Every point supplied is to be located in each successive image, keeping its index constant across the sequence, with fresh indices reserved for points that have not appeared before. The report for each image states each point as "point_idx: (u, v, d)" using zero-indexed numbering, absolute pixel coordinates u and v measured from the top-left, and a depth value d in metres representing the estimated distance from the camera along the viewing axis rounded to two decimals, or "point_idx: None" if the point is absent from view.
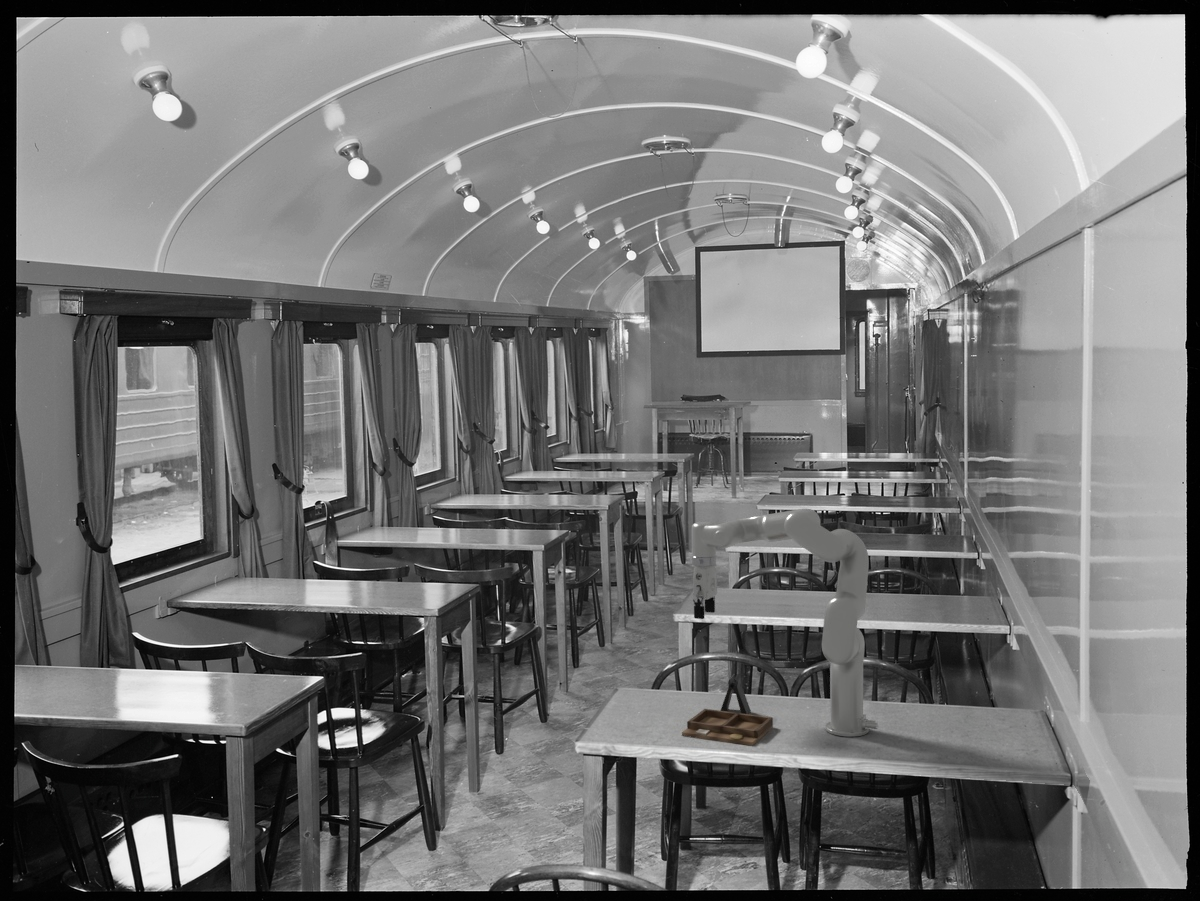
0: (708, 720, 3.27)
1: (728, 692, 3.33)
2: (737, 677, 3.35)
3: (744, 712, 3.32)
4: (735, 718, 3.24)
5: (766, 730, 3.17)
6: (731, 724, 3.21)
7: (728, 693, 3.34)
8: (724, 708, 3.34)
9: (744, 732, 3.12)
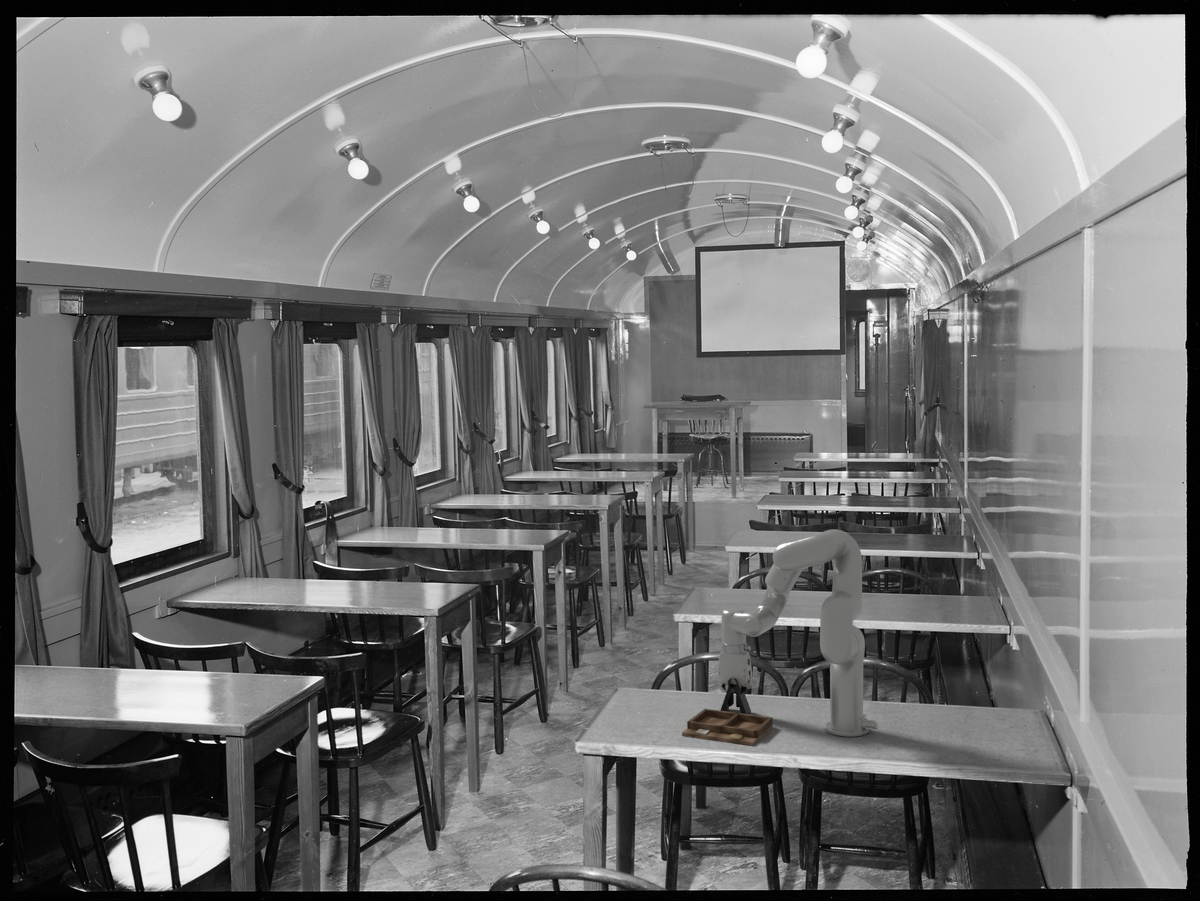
0: (708, 720, 3.27)
1: (728, 692, 3.34)
2: None
3: (744, 712, 3.32)
4: (735, 718, 3.24)
5: (766, 730, 3.17)
6: (731, 724, 3.21)
7: (728, 693, 3.34)
8: (724, 708, 3.34)
9: (744, 732, 3.12)
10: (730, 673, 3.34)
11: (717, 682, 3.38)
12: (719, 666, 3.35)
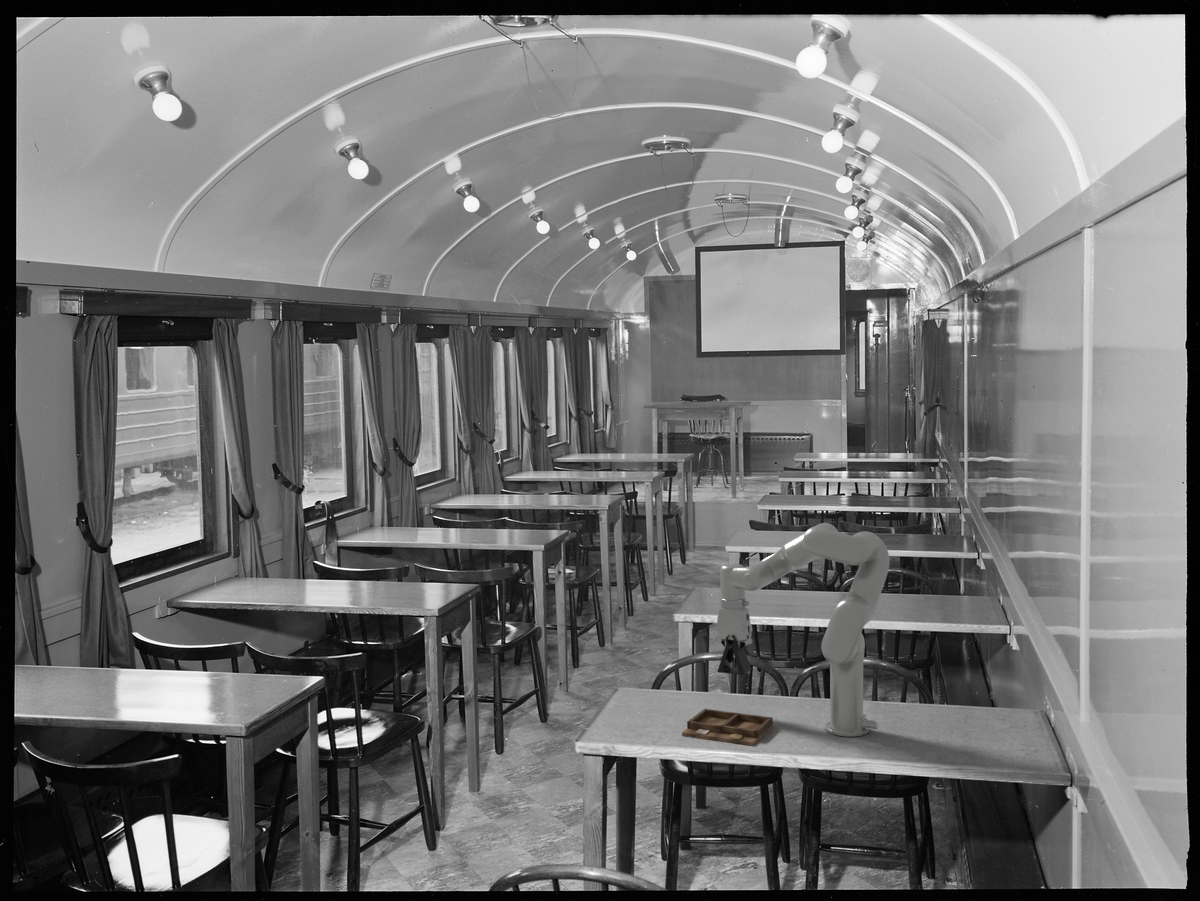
0: (708, 720, 3.27)
1: (726, 649, 3.32)
2: None
3: (741, 669, 3.30)
4: (735, 718, 3.24)
5: (766, 730, 3.17)
6: (731, 724, 3.21)
7: (726, 650, 3.32)
8: (722, 665, 3.33)
9: (744, 732, 3.12)
10: (729, 629, 3.31)
11: (717, 639, 3.36)
12: (718, 622, 3.33)
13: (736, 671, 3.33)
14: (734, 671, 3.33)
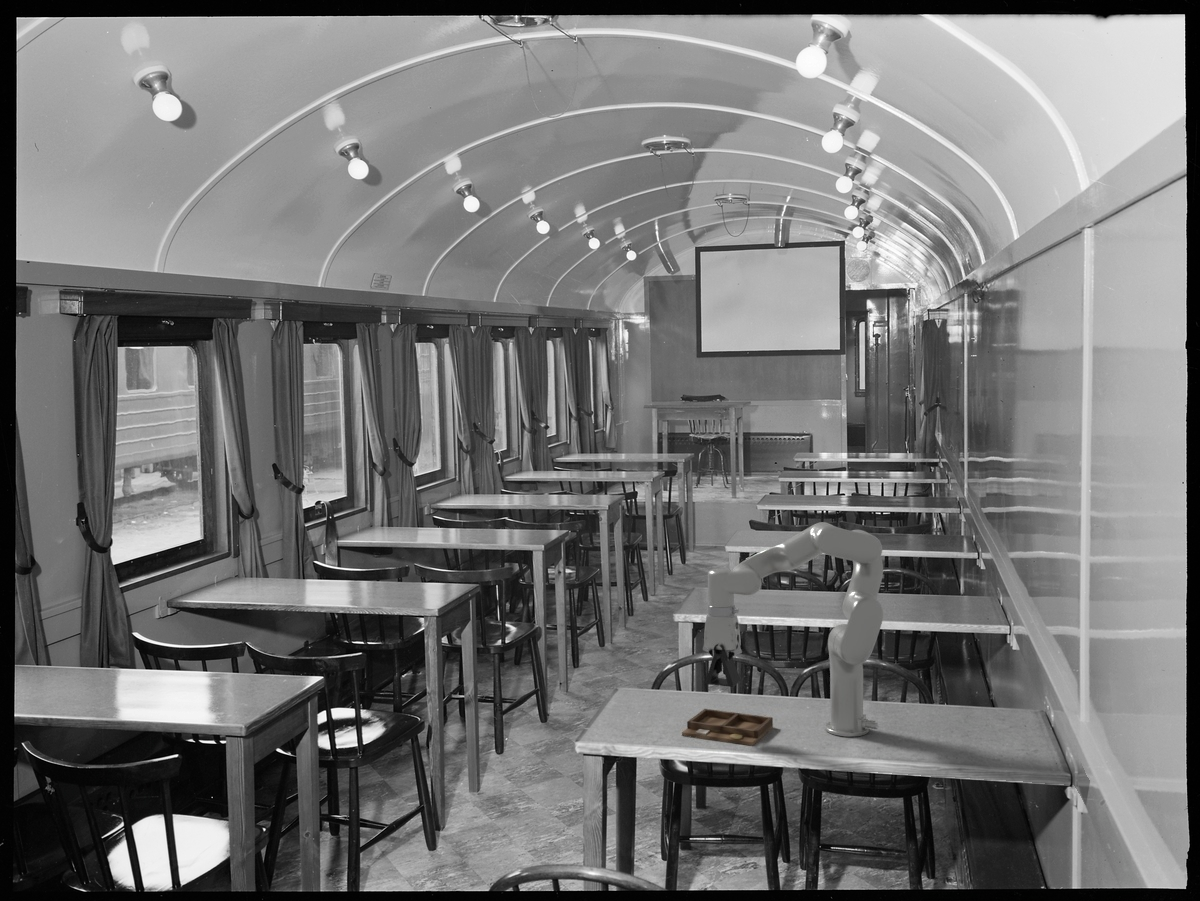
0: (708, 720, 3.27)
1: (714, 659, 3.12)
2: None
3: (730, 681, 3.11)
4: (735, 718, 3.24)
5: (766, 730, 3.17)
6: (731, 724, 3.21)
7: (714, 660, 3.13)
8: (710, 676, 3.13)
9: (744, 732, 3.12)
10: (717, 638, 3.12)
11: (704, 648, 3.16)
12: (705, 630, 3.14)
13: (724, 683, 3.13)
14: (722, 683, 3.13)
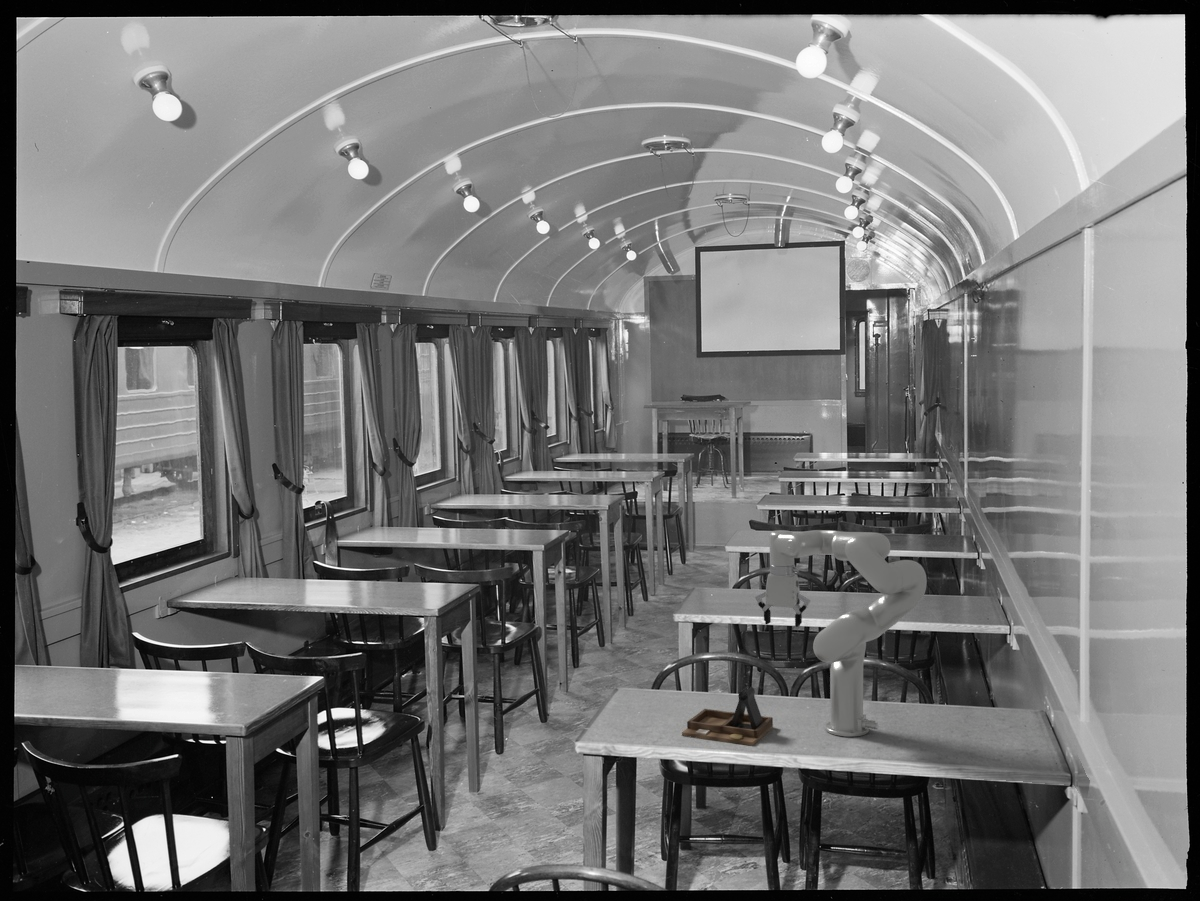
0: (708, 720, 3.27)
1: (738, 705, 3.16)
2: (749, 690, 3.18)
3: (755, 727, 3.14)
4: None
5: (766, 730, 3.17)
6: None
7: (738, 706, 3.16)
8: (734, 722, 3.17)
9: (744, 732, 3.12)
10: (778, 595, 3.31)
11: (757, 597, 3.36)
12: (767, 589, 3.33)
13: (749, 728, 3.17)
14: (747, 728, 3.17)
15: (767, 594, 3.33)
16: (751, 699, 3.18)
